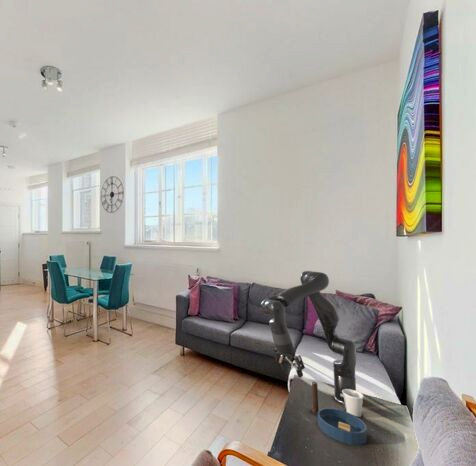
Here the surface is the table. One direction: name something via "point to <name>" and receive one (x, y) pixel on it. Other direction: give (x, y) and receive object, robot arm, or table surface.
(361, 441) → the bowl
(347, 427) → the wooden block
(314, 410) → the cylinder
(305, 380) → the table surface
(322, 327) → the robot arm
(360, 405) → the dixie cup
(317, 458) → the table surface
